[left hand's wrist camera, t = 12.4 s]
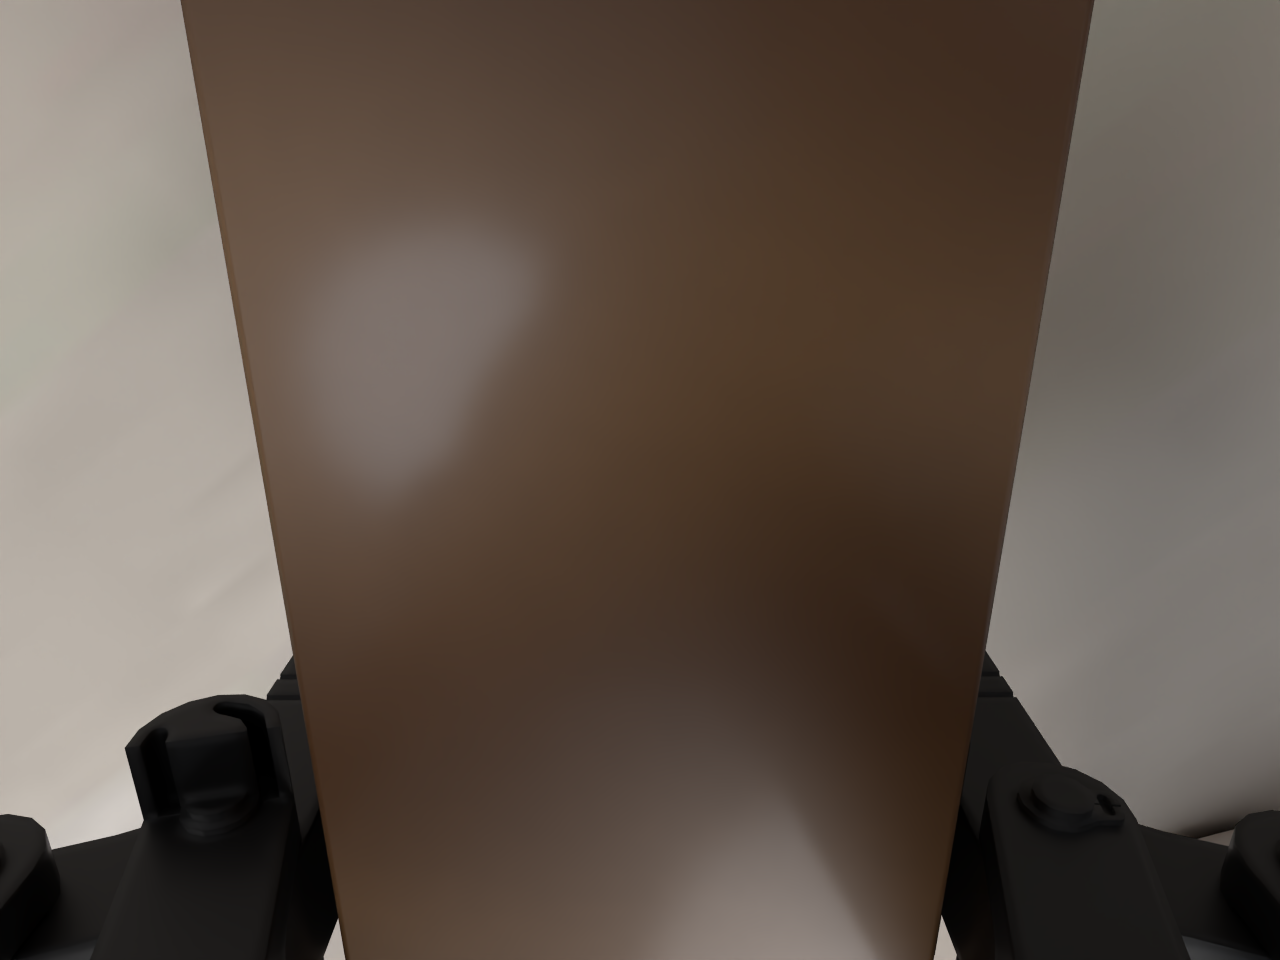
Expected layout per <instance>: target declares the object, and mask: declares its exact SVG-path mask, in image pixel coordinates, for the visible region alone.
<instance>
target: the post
mask: <svg viewBox="0 0 1280 960" xmlns="http://www.w3.org/2000/svg"><path fill="white" fill-rule="evenodd" d="M181 5H182V11H183V17H184V23H185V28H186V34H187V40H188V46H189V52H190V57H191V63H192V69H193V75H194V81H195V87H196V92H197V98H198V104H199V110H200V116H201V121H202V127H203V133H204V139H205V145H206V151H207V156H208V162H209V168H210V174H211V180H212V185H213V191H214V197H215V203H216V209H217V215H218V220H219V226H220V232H221V238H222V244H223V250H224V255H225V261H226V267H227V273H228V279H229V284H230V290H231V296H232V302H233V308H234V314H235V319H236V325H237V331H238V337H239V343H240V348H241V354H242V360H243V366H244V372H245V378H246V383H247V389H248V395H249V401H250V407H251V412H252V418H253V424H254V430H255V436H256V442H257V447H258V453H259V459H260V465H261V471H262V476H263V482H264V488H265V494H266V500H267V506H268V511H269V517H270V523H271V529H272V535H273V540H274V546H275V552H276V558H277V564H278V570H279V575H280V581H281V587H282V593H283V599H284V604H285V610H286V616H287V622H288V628H289V634H290V639H291V645H292V651H293V657H294V663H295V668H296V674H297V680H298V686H299V692H300V698H301V703H302V709H303V715H304V721H305V727H306V732H307V738H308V744H309V750H310V756H311V762H312V767H313V773H314V779H315V785H316V791H317V796H318V802H319V808H320V814H321V820H322V826H323V831H324V837H325V843H326V849H327V855H328V860H329V866H330V872H331V878H332V884H333V890H334V895H335V901H336V907H337V913H338V919H339V924H340V930H341V936H342V942H343V948H344V954H345V959H346V960H933V959H934V953H935V947H936V941H937V935H938V930H939V924H940V918H941V912H942V906H943V900H944V894H945V888H946V882H947V876H948V870H949V864H950V858H951V852H952V846H953V840H954V834H955V828H956V822H957V816H958V810H959V804H960V798H961V792H962V786H963V780H964V774H965V768H966V762H967V757H968V751H969V745H970V739H971V733H972V727H973V721H974V715H975V709H976V703H977V697H978V691H979V685H980V679H981V673H982V667H983V661H984V655H985V649H986V643H987V637H988V631H989V625H990V619H991V613H992V607H993V601H994V595H995V589H996V584H997V578H998V572H999V566H1000V560H1001V554H1002V548H1003V542H1004V536H1005V530H1006V524H1007V518H1008V512H1009V506H1010V500H1011V494H1012V488H1013V482H1014V476H1015V470H1016V464H1017V458H1018V452H1019V446H1020V440H1021V434H1022V428H1023V422H1024V416H1025V411H1026V405H1027V399H1028V393H1029V387H1030V381H1031V375H1032V369H1033V363H1034V357H1035V351H1036V345H1037V339H1038V333H1039V327H1040V321H1041V315H1042V309H1043V303H1044V297H1045V291H1046V285H1047V279H1048V273H1049V267H1050V261H1051V255H1052V249H1053V244H1054V238H1055V232H1056V226H1057V220H1058V214H1059V208H1060V202H1061V196H1062V190H1063V184H1064V178H1065V172H1066V166H1067V160H1068V154H1069V148H1070V142H1071V136H1072V130H1073V124H1074V118H1075V112H1076V106H1077V100H1078V94H1079V88H1080V82H1081V76H1082V70H1083V65H1084V59H1085V53H1086V47H1087V41H1088V35H1089V29H1090V23H1091V17H1092V11H1093V5H1094V0H181Z"/></svg>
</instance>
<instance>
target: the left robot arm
mask: <svg viewBox="0 0 1280 960" xmlns="http://www.w3.org/2000/svg"><path fill="white" fill-rule="evenodd" d="M280 676H281V677H280V679H277V680H276V682H275V683H274V685H273V686H272V688H271V690H270V691H269V693H268V694H267V700H265V699H261V698H257V697H253V696H249V695H245V694H242V695H217V696H212V697H208V698H203V699H199V700H195V701H190V702H188V703H185V704H183V705H181V706H178V707H176V708H174V709H171V710H169V711H167V712H164V713H162V714H160V715H159V716H158V717H156V718H155V719H153V720H152V721H151V722H149V723H148V724H146V725H145V726H143V727H142V728H141V729H139V730H138V731H137V733H136V734H135V735H134V737H133V738H132V739H131V741H130V742H129V743H128V744H127V746H126V747H125V751H126V755H127V758H128V762H129V766H130V770H131V774H132V777H133V781H134V785H135V789H136V792H137V796H138V800H139V804H140V807H141V811H142V815H143V819H144V821H143V824H142V826H141V828H139V829H135V830H132V831H129V832H125V833H122V834H119V835H115V836H110V837H106V838H102V839H97V840H93V841H88V842H84V843H79V844H75V845H71V846H66V847H62V848H57V849H53V850H51V847H50V843H49V840H48V837H47V834H46V831H45V829H44V828H43V827H42V826H41V825H39V824H38V823H37V822H36V821H35V820H34V819H32V818H29V817H23V816H17V815H11V814H5V815H0V960H324V957H323V956H324V954H325V951H326V948H327V946H328V943H329V941H330V938H331V935H332V933H333V930H334V928H335V925H336V922H337V920H338V913H337V907H336V901H335V895H334V890H333V884H332V878H331V872H330V866H329V860H328V855H327V849H326V843H325V837H324V831H323V826H322V820H321V814H320V808H319V802H318V796H317V791H316V785H315V779H314V773H313V767H312V762H311V756H310V750H309V744H308V738H307V732H306V727H305V721H304V715H303V709H302V703H301V698H300V692H299V686H298V680H297V674H296V668H295V663H294V657H293V656H292V658H291V659H290V661H289V662H288V664H287V665H286V667H285V668H284V670H283V671H282V673H281V674H280ZM941 915H942V917H943V920H944V922H945V925H946V927H947V930H948V933H949V935H950V938H951V940H952V943H953V946H954V948H955V951H956V954H957V957H956V960H1280V811H1274V810H1270V811H1264V812H1258V813H1252V814H1248V815H1247V816H1246V817H1245V818H1244V819H1242V820H1241V821H1240V822H1239V823H1238V824H1236V825H1235V828H1234V831H1233V835H1232V838H1231V841H1230V844H1229V846H1226V845H1221V844H1217V843H1212V842H1208V841H1203V840H1199V839H1194V838H1190V837H1185V836H1181V835H1177V834H1172V833H1168V832H1163V831H1160V830H1157V829H1153V828H1150V827H1146V826H1143V825H1140V824H1138V822H1137V820H1136V818H1135V816H1134V815H1133V813H1132V812H1131V810H1130V809H1129V807H1128V806H1127V804H1126V803H1125V801H1124V800H1123V799H1122V798H1121V797H1119V796H1118V795H1117V794H1116V793H1114V792H1113V791H1112V790H1111V789H1109V788H1108V787H1107V786H1106V785H1104V784H1103V783H1102V782H1100V781H1098V780H1096V779H1094V778H1092V777H1090V776H1088V775H1086V774H1084V773H1082V772H1080V771H1078V770H1076V769H1072V768H1068V767H1064V766H1062V765H1061V764H1060V762H1059V761H1058V759H1057V758H1056V756H1055V755H1054V753H1053V752H1052V750H1051V749H1050V747H1049V746H1048V744H1047V743H1046V741H1045V739H1044V738H1043V736H1042V735H1041V733H1040V732H1039V730H1038V729H1037V727H1036V726H1035V724H1034V723H1033V721H1032V720H1031V718H1030V717H1029V715H1028V714H1027V712H1026V711H1025V709H1024V708H1023V706H1022V705H1021V703H1020V702H1019V700H1018V699H1017V697H1013V691H1012V690H1011V688H1010V687H1009V685H1008V684H1007V682H1006V681H1005V679H1004V678H1003V676H1000V675H999V670H998V669H997V667H996V666H995V664H994V663H993V661H992V660H991V658H990V657H989V655H988V654H987V652H986V651H985V655H984V661H983V667H982V673H981V679H980V685H979V691H978V697H977V703H976V709H975V715H974V721H973V727H972V733H971V739H970V745H969V751H968V757H967V762H966V768H965V774H964V780H963V786H962V792H961V798H960V804H959V810H958V816H957V822H956V828H955V834H954V840H953V846H952V852H951V858H950V864H949V870H948V876H947V882H946V888H945V894H944V900H943V906H942V912H941ZM940 921H941V918H940ZM939 927H940V924H939ZM938 932H939V930H938ZM937 938H938V935H937ZM936 944H937V941H936ZM935 950H936V947H935ZM934 955H935V953H934Z"/></svg>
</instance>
